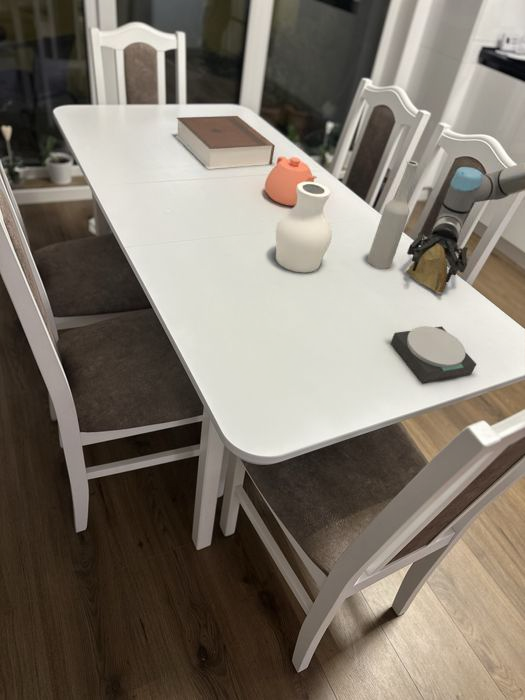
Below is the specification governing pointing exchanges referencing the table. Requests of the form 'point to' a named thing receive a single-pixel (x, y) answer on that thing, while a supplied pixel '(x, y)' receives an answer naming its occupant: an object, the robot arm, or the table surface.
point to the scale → (433, 353)
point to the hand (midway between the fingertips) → (431, 271)
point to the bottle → (392, 223)
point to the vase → (304, 230)
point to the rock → (431, 269)
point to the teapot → (287, 180)
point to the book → (224, 141)
